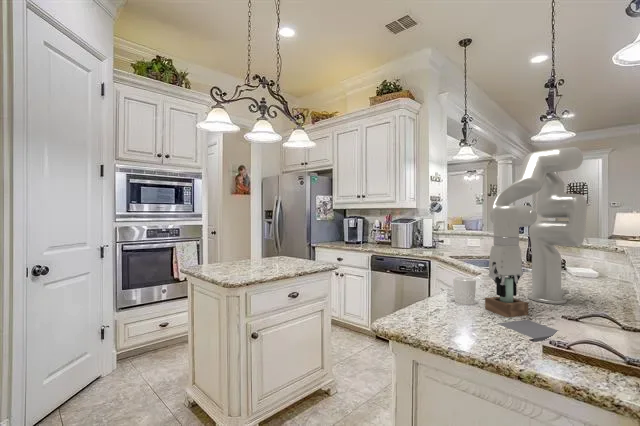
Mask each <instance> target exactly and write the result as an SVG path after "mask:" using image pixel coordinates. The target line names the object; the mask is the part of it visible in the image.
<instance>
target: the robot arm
mask: <svg viewBox="0 0 640 426" xmlns="http://www.w3.org/2000/svg"><path fill="white" fill-rule="evenodd" d="M583 160H584V156H583V152H582V150H581V149H580V148H578V147H577V146H573V147H562V148H561V147H560V148H553V149H545V150H539V151H533V152H530V153H528V154H527V155H526V156H525V158H524V159H523V162H522V164H521V166H520V170H519V172H518V175H517V176H516V180H515V181H514V182H513V183H511V184H510V185H508V186H507V187H505V188H504V189H503V190H502V191H500V193H498V194H497V196H495V198H494V202H493V203H492V206H491V208H490V212H489V213H490V214H489V219H490V221H491V224H492V225H493V238H492V239H493V245H491V247H490V252H489V259H488V260H489V263H488V277H489V278H491V280H493V281H494V284H495V285H496V291H495V292H496V296H497V297H500V296H502V297H505V296H506V286H505V285H504V280H505V277H509V278H513V297H516V296H517V294H518V293H517V288H518V287H517V285H518V283H519V280H520V279H521V277H522V276H523V275H524V274H525V273H524V271H523V258H522V252H521V247H520V227H521V228H523V227H524V228H525V227H529V228H528V235H529V238H530V239H529V240H530V244H531V293H528V294H527V298H528V299H530V300H531V301H535V302H537V303H545V304H552V305H553V304H554V305H555V304H556V305H563V304H566V303H567V298H565V297H563V296H564V295H568V294H570V290H569V289H567V288H564V289H563V288H562V256H561V253H560V252H559V250H558V248H556V247H555V246H560V247H561V246H562V247H579V246H581V245H582V244H584V240H585V237H586V228H587V227H586V224H587V215H588V204H587V199H586V198H585V197H584V196H583V195H582V194H578V193H565V186H566V185H565V182H564V180H563V178H561V176H560V175H558V174H557V173H558V172H568V171H574V170H576V169H579V168H580V166H582V163H583ZM534 194H537V200H536V209H535V208H534V207H532V206H530V205H526V204H523V205H521V204H520V205H519V204H518V205H513V203H514V202H516V201H518V200H521V199H525V198H527V197H530V196H533V195H534ZM538 216H539V217H541V218H543V219H544V218H545V219H568V220H566V221H565V220H538V221H537V219H538ZM500 277H501V279H500Z"/></svg>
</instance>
